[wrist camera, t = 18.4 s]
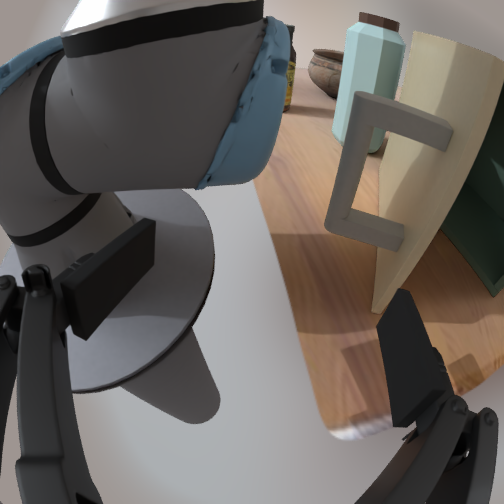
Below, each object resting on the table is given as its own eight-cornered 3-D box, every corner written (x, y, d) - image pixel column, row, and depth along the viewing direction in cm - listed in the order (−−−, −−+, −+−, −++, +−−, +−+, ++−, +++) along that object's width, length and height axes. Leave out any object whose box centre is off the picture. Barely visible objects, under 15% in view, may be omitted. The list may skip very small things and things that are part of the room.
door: (304, 293, 27) (368, 4, 8) (338, 159, 43) (363, 15, 24) (379, 314, 25) (508, 64, 7) (384, 172, 41) (420, 33, 23)
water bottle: (330, 149, 45) (352, 9, 26) (330, 126, 51) (346, 10, 32) (385, 161, 44) (418, 28, 25) (377, 137, 50) (401, 24, 31)
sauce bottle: (264, 113, 54) (267, 24, 39) (260, 103, 58) (263, 22, 43) (294, 113, 55) (302, 26, 40) (288, 103, 59) (294, 24, 44)
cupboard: (493, 297, 26) (595, 145, 7) (384, 171, 42) (420, 32, 23) (528, 258, 30) (594, 149, 12) (441, 163, 46) (475, 58, 27)
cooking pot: (299, 80, 74) (303, 44, 65) (357, 88, 74) (363, 54, 65) (314, 107, 58) (320, 59, 49) (387, 118, 58) (398, 75, 49)
